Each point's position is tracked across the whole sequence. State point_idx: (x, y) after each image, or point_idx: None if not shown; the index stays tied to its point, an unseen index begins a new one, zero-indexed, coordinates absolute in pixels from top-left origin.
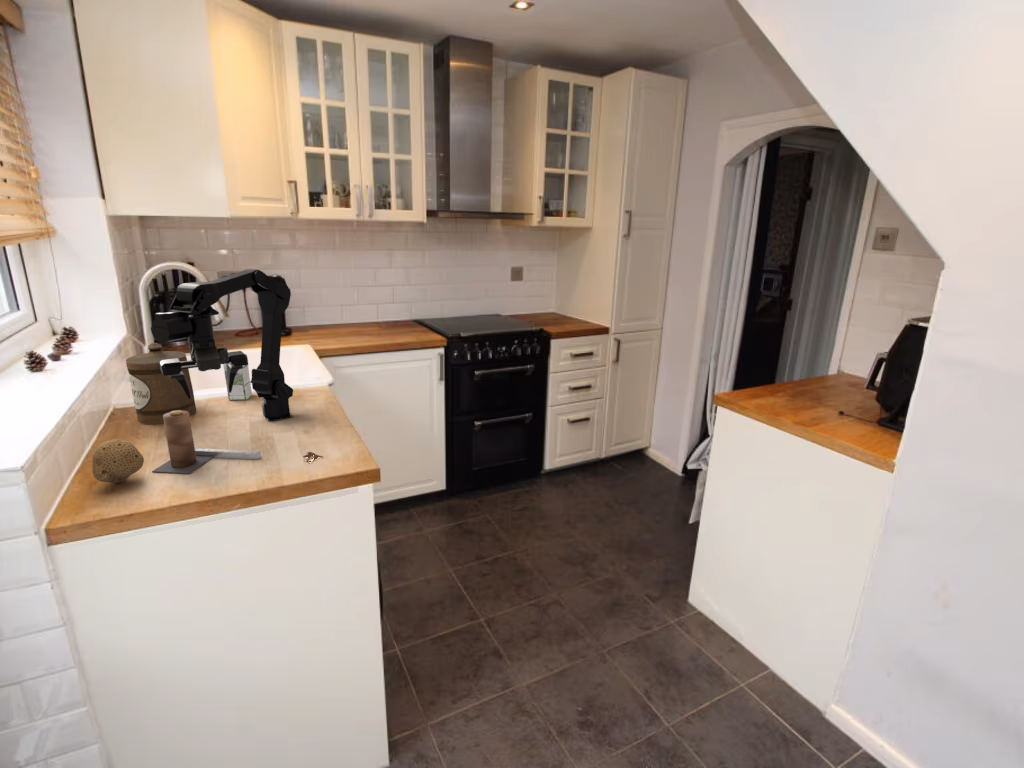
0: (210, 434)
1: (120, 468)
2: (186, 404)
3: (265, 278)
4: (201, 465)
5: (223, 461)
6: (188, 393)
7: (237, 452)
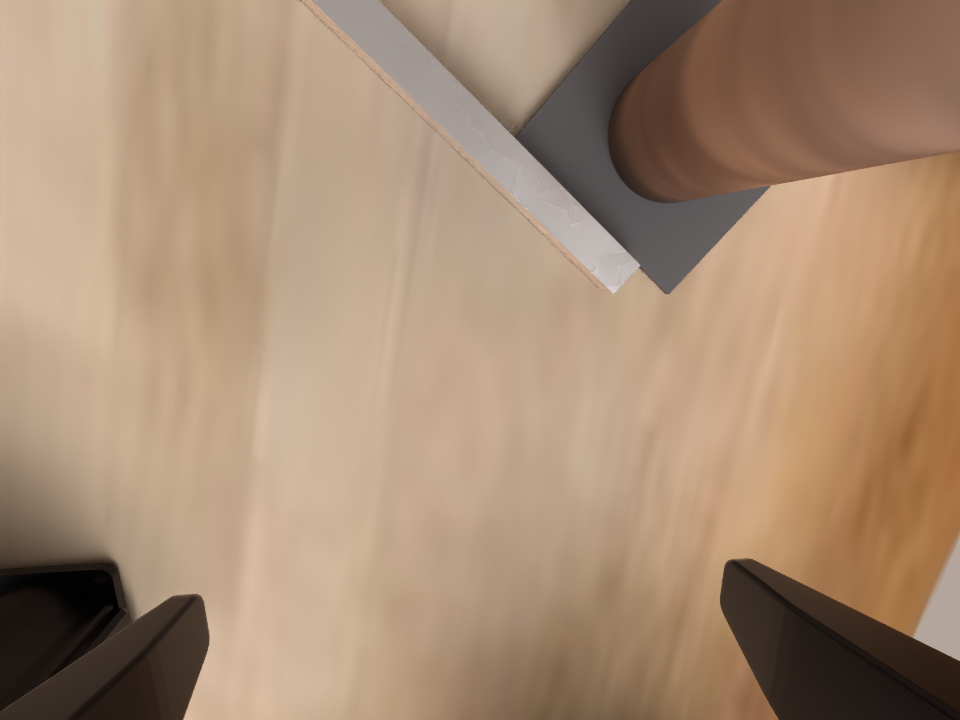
0: (462, 529)
1: None
2: None
3: None
4: (595, 43)
5: (471, 32)
6: (809, 606)
7: (376, 3)
